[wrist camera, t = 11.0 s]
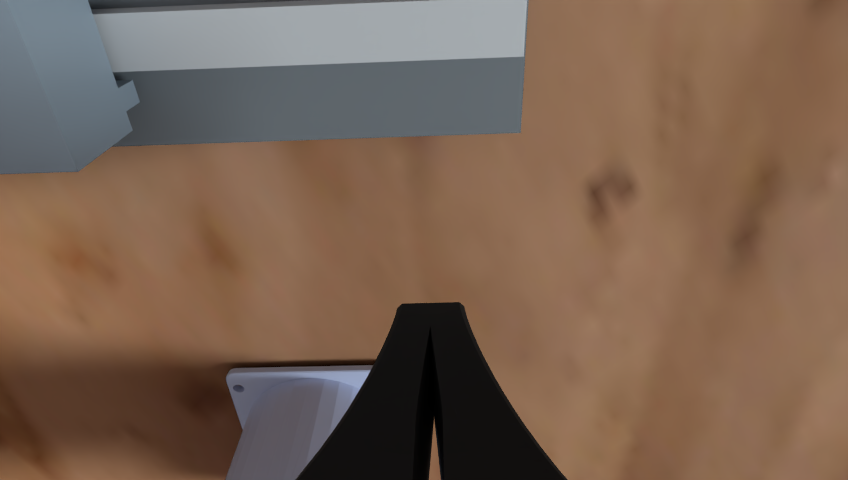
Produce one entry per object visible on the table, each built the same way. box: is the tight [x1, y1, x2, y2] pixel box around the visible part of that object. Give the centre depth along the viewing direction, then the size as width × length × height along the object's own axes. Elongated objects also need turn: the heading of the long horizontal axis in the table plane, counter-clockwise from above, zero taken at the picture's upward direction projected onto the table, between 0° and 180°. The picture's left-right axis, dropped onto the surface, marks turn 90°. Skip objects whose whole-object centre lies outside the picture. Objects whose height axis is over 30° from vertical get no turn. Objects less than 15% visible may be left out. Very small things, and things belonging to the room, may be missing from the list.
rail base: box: [88, 0, 528, 147], centre depth 16 cm, size 7×20×2 cm, turn 92°
